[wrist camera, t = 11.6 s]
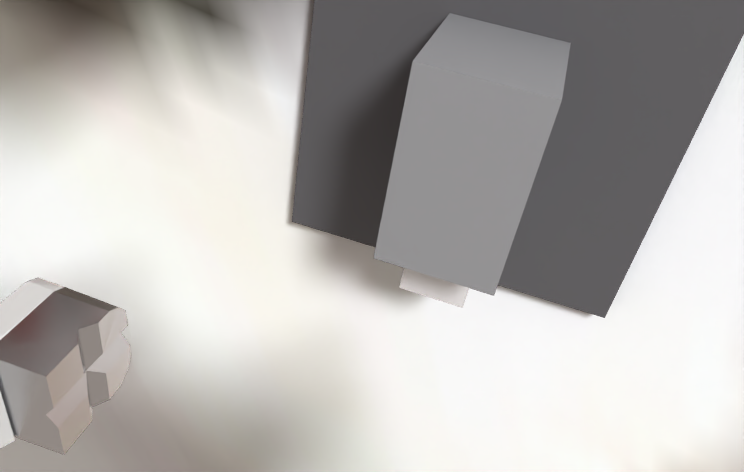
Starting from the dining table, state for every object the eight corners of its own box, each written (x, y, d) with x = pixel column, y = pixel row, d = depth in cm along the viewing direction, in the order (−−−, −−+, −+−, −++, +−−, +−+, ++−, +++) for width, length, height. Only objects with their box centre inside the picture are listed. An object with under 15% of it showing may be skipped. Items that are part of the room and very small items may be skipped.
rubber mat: (335, -132, 19) (328, -131, 18) (771, -37, 17) (776, -33, 16) (297, 213, 26) (291, 221, 25) (604, 307, 24) (604, 318, 23)
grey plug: (449, 13, 19) (412, 61, 16) (570, 43, 19) (561, 100, 15) (399, 240, 24) (361, 318, 20) (494, 269, 24) (473, 355, 20)
